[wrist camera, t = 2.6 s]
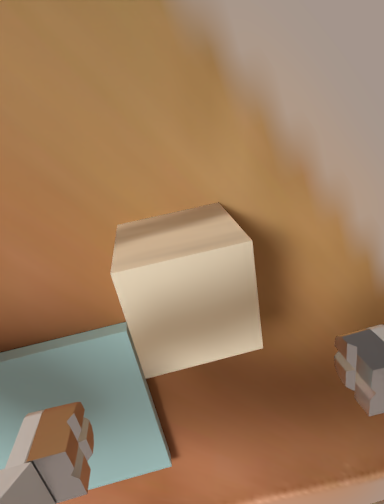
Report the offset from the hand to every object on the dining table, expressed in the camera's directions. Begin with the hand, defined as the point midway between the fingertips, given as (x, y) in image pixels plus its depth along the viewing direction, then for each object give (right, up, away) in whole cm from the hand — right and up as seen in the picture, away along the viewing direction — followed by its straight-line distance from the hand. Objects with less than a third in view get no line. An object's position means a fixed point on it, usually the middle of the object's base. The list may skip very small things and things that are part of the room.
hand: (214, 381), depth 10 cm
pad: (-9, -6, +10) cm, 15 cm away
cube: (-1, +4, +6) cm, 8 cm away
